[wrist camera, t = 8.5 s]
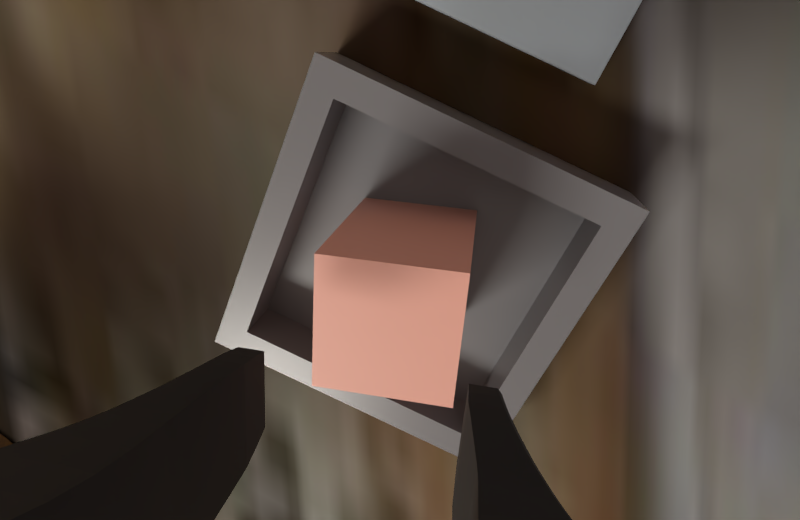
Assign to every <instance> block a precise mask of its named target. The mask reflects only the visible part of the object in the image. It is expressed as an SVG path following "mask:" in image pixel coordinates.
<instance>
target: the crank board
mask: <svg viewBox="0 0 800 520" xmlns="http://www.w3.org/2000/svg"><path fill="white" fill-rule="evenodd" d="M415 1H418V2H420V3H422V4H424V5H426V6H428V7H430V8H432V9H434V10H436V11H439V12H441V13H443V14H445V15H447V16H449V17H451V18H453V19H455V20H457V21H460V22H462V23H464V24H466V25H468V26H470V27H472V28H474V29H476V30H478V31H480V32H483V33H485V34H487V35H489V36H491V37H493V38H495V39H497V40H499V41H501V42H504V43H506V44H508V45H510V46H512V47H514V48H516V49H518V50H520V51H522V52H524V53H527V54H529V55H531V56H533V57H535V58H537V59H539V60H541V61H543V62H545V63H548V64H550V65H552V66H554V67H556V68H558V69H560V70H562V71H564V72H566V73H569V74H571V75H573V76H575V77H577V78H579V79H581V80H583V81H585V82H587V83H589V84H593V85H595V84H596V83H597V81H598V79H599V77H600V75H601V74H602V72H603V70H604V68H605V66H606V65H607V63H608V61H609V59H610V57H611V56H612V54H613V52H614V50H615V49H616V47H617V45H618V43H619V41H620V40H621V38H622V36H623V34H624V32H625V31H626V29H627V27H628V25H629V23H630V22H631V20H632V18H633V16H634V14H635V13H636V11H637V9H638V7H639V6H640V4H641V2H642V0H415Z"/></svg>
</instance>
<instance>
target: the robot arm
mask: <svg viewBox="0 0 800 520" xmlns="http://www.w3.org/2000/svg"><path fill="white" fill-rule="evenodd" d="M264 428H265V387H264V351H260V350H254V349H248V348H241V347H237V348H235V349H232V350H230V351H228V352H226V353H224V354H222V355H220V356H218V357H216V358H214V359H212V360H210V361H208V362H206V363H204V364H203V365H201V366H199V367H197V368H195V369H193V370H191V371H189V372H187V373H185V374H183V375H181V376H179V377H178V378H176V379H174V380H172V381H170V382H168V383H166V384H164V385H162V386H160V387H158V388H156V389H154V390H151V391H149V392H147V393H145V394H143V395H141V396H139V397H136V398H134V399H132V400H130V401H128V402H126V403H124V404H121V405H119V406H117V407H115V408H113V409H110V410H108V411H106V412H103V413H101V414H98V415H96V416H93V417H91V418H88V419H86V420H83V421H80V422H78V423H75V424H72V425H70V426H67V427H64V428H62V429H59V430H56V431H53V432H50V433H47V434H43V435H40V436H37V437H34V438H31V439H27V440H24V441H21V442H18V443H14V444H11V445H8V446H5V447H1V448H0V520H214V519H215V518H216V516H217V514H218V513H219V511H220V510H221V508H222V507H223V505H224V503H225V502H226V500H227V499H228V497H229V495H230V494H231V492H232V491H233V489H234V487H235V486H236V484H237V482H238V481H239V479H240V478H241V476H242V474H243V473H244V471H245V469H246V468H247V466H248V464H249V461H250V459H251V457H252V455H253V453H254V451H255V449H256V446H257V444H258V442H259V440H260V437H261V435H262V433H263V430H264ZM452 520H572V519H571V518H570V516H569V515H568V514H567V512H566V511H565V510H564V508H563V507H562V505H561V504H560V502H559V501H558V500H557V498H556V497H555V495H554V494H553V492H552V491H551V489H550V488H549V486H548V484H547V483H546V481H545V480H544V478H543V476H542V475H541V473H540V472H539V470H538V468H537V466H536V465H535V463H534V461H533V460H532V458H531V456H530V454H529V452H528V450H527V449H526V447H525V445H524V443H523V441H522V439H521V437H520V435H519V433H518V431H517V429H516V427H515V425H514V423H513V421H512V418H511V416H510V414H509V412H508V409H507V407H506V404H505V401H504V399H503V396H502V393H501V392H500V391H499V389H498V388H492V387H486V386H480V385H474V384H469V385H468V391H467V398H466V405H465V412H464V418H463V425H462V432H461V438H460V445H459V452H458V459H457V467H456V477H455V486H454V496H453V506H452Z"/></svg>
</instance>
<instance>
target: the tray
mask: <svg viewBox="0 0 800 520" xmlns="http://www.w3.org/2000/svg"><path fill="white" fill-rule="evenodd" d="M364 198H372V199H381V200H390V201H399V202H408V203H417V204H425V205H434V206H443V207H452V208H461V209H469V210H477V216H476V225H475V234H474V244H473V253H472V263H471V272H470V280H469V288H468V295H467V303H466V311H465V318H464V326H463V334H462V341H461V349H460V357H459V365H458V372H457V380H456V388H455V395H454V403H453V408H449V407H442V406H436V405H430V404H423V403H417V402H411V401H404V400H398V399H392V398H386V397H379V396H373V395H367V394H360V393H354V392H348V391H341V390H335V389H329V388H323V387H316V386H312V349H313V294H314V253H315V252H316V251H317V250H318V249H319V248H320V247H321V246H322V244H323V243H324V242H325V241H326V240H327V239H328V238H329V237H330V236H331V235H332V234H333V232H334V231H335V230H336V229H337V228H338V227H339V226H340V225H341V224H342V223H343V221H344V220H345V219H346V218H347V217H348V216H349V215H350V214H351V213H352V212H353V210H354V209H355V208H356V207H357V206H358V205H359V204H360V203H361V202H362V201H363V200H364ZM649 212H650V211H649V210H648V209H647V208H646V207H645V206H644V205H643V204H642V203H641V202H640V201H639V200H638V199H637V198H636V197H635V196H634V195H633V194H632V193H631V192H629V191H627V190H625V189H622V188H620V187H618V186H616V185H614V184H612V183H610V182H608V181H606V180H604V179H601V178H599V177H597V176H595V175H593V174H591V173H589V172H587V171H585V170H583V169H580V168H578V167H576V166H574V165H572V164H570V163H568V162H566V161H564V160H562V159H559V158H557V157H555V156H553V155H551V154H549V153H547V152H545V151H543V150H541V149H538V148H536V147H534V146H532V145H530V144H528V143H526V142H524V141H522V140H520V139H517V138H515V137H513V136H511V135H509V134H507V133H505V132H503V131H501V130H499V129H496V128H494V127H492V126H490V125H488V124H486V123H484V122H482V121H480V120H478V119H475V118H473V117H471V116H469V115H467V114H465V113H463V112H461V111H459V110H457V109H454V108H452V107H450V106H448V105H446V104H444V103H442V102H440V101H438V100H436V99H433V98H431V97H429V96H427V95H425V94H423V93H421V92H419V91H417V90H415V89H412V88H410V87H408V86H406V85H404V84H402V83H400V82H398V81H396V80H394V79H391V78H389V77H387V76H385V75H383V74H381V73H379V72H377V71H375V70H373V69H370V68H368V67H366V66H364V65H362V64H360V63H358V62H356V61H354V60H352V59H349V58H347V57H345V56H343V55H341V54H339V53H331V52H315V53H314V56H313V59H312V62H311V64H310V67H309V70H308V73H307V76H306V79H305V82H304V85H303V88H302V90H301V93H300V96H299V99H298V102H297V105H296V108H295V111H294V114H293V116H292V119H291V122H290V125H289V128H288V131H287V134H286V137H285V140H284V142H283V145H282V148H281V151H280V154H279V157H278V160H277V163H276V166H275V168H274V171H273V174H272V177H271V180H270V183H269V186H268V189H267V192H266V194H265V197H264V200H263V203H262V206H261V209H260V212H259V215H258V218H257V221H256V223H255V226H254V229H253V232H252V235H251V238H250V241H249V244H248V247H247V249H246V252H245V255H244V258H243V261H242V264H241V267H240V270H239V273H238V275H237V278H236V281H235V284H234V287H233V290H232V293H231V296H230V299H229V301H228V304H227V307H226V310H225V313H224V316H223V319H222V322H221V325H220V327H219V330H218V333H217V336H216V339H215V342H217V343H219V344H221V345H223V346H225V347H227V348H229V349H231V350H232V349H235V348H237V347H241V348H248V349H254V350H260V351H264V365H265V366H267V367H269V368H272V369H274V370H276V371H278V372H280V373H282V374H284V375H286V376H288V377H291V378H293V379H295V380H297V381H299V382H301V383H303V384H305V385H308V386H310V387H312V388H314V389H316V390H318V391H320V392H322V393H324V394H327V395H329V396H331V397H333V398H335V399H337V400H339V401H341V402H343V403H346V404H348V405H350V406H352V407H354V408H356V409H358V410H360V411H362V412H365V413H367V414H369V415H371V416H373V417H375V418H377V419H379V420H382V421H384V422H386V423H388V424H390V425H392V426H394V427H396V428H398V429H401V430H403V431H405V432H407V433H409V434H411V435H413V436H415V437H417V438H420V439H422V440H424V441H426V442H428V443H430V444H432V445H434V446H437V447H439V448H441V449H443V450H445V451H447V452H449V453H451V454H453V455H456V456H458V452H459V445H460V438H461V432H462V425H463V418H464V412H465V405H466V398H467V391H468V385H469V384H474V385H480V386H486V387H492V388H498V389H499V391H500V392H501V393H502V396H503V399H504V401H505V404H506V407H507V409H508V412H509V414H510V416H511V418H512V420H513V419H514V417H515V416H516V414H517V413H518V411H519V410H520V408H521V407H522V405H523V404H524V402H525V401H526V399H527V398H528V396H529V395H530V393H531V392H532V390H533V389H534V387H535V385H536V384H537V382H538V381H539V379H540V378H541V376H542V375H543V373H544V372H545V370H546V369H547V367H548V366H549V364H550V363H551V361H552V360H553V358H554V357H555V355H556V354H557V352H558V351H559V349H560V348H561V346H562V344H563V343H564V341H565V340H566V338H567V337H568V335H569V334H570V332H571V331H572V329H573V328H574V326H575V325H576V323H577V322H578V320H579V319H580V317H581V316H582V314H583V313H584V311H585V310H586V308H587V307H588V305H589V303H590V302H591V300H592V299H593V297H594V296H595V294H596V293H597V291H598V290H599V288H600V287H601V285H602V284H603V282H604V281H605V279H606V278H607V276H608V275H609V273H610V272H611V270H612V269H613V267H614V266H615V264H616V262H617V261H618V259H619V258H620V256H621V255H622V253H623V252H624V250H625V249H626V247H627V246H628V244H629V243H630V241H631V240H632V238H633V237H634V235H635V234H636V232H637V231H638V229H639V228H640V226H641V225H642V223H643V221H644V220H645V218H646V217H647V215H648V214H649Z"/></svg>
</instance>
